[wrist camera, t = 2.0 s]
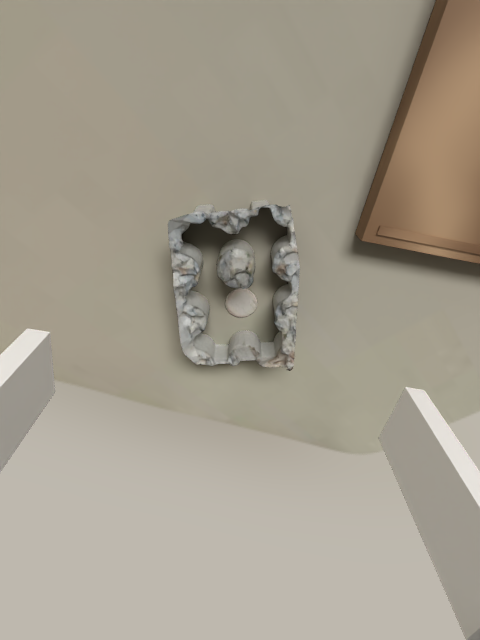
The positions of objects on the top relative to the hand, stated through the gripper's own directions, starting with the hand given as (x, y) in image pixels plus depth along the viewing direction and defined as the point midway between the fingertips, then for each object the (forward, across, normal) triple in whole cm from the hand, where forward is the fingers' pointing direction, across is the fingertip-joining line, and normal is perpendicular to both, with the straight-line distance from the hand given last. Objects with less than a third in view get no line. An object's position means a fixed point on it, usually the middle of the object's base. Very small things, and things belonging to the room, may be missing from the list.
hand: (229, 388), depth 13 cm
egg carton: (+12, 0, +1) cm, 12 cm away
